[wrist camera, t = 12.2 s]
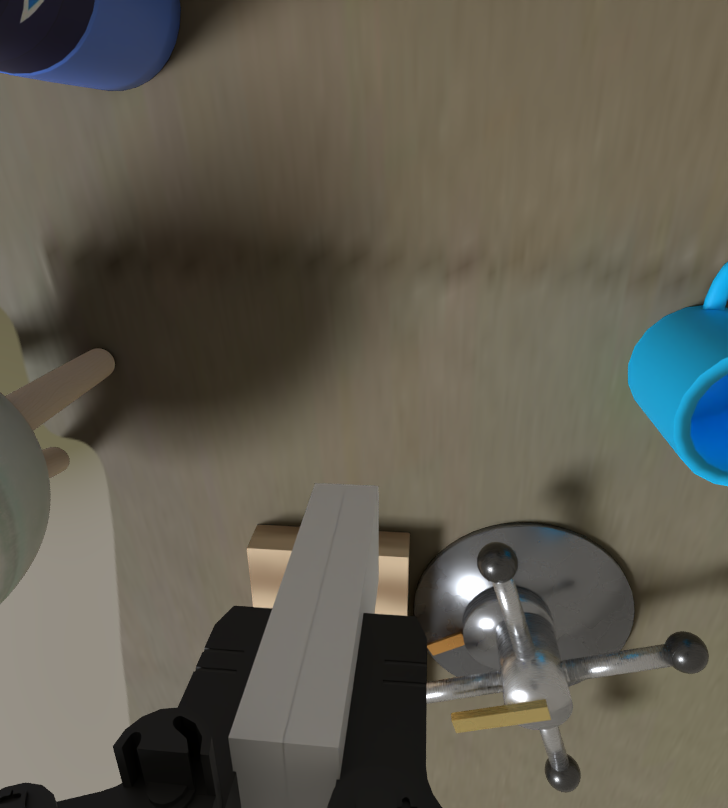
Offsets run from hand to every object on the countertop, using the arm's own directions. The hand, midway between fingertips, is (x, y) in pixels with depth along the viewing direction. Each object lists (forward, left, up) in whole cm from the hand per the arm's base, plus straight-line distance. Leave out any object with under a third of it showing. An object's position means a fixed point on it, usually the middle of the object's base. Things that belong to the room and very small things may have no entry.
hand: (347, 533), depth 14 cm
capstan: (+26, +10, -26) cm, 38 cm away
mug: (+3, +19, -27) cm, 33 cm away
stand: (+28, -5, -26) cm, 39 cm away
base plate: (+26, +10, -26) cm, 38 cm away
